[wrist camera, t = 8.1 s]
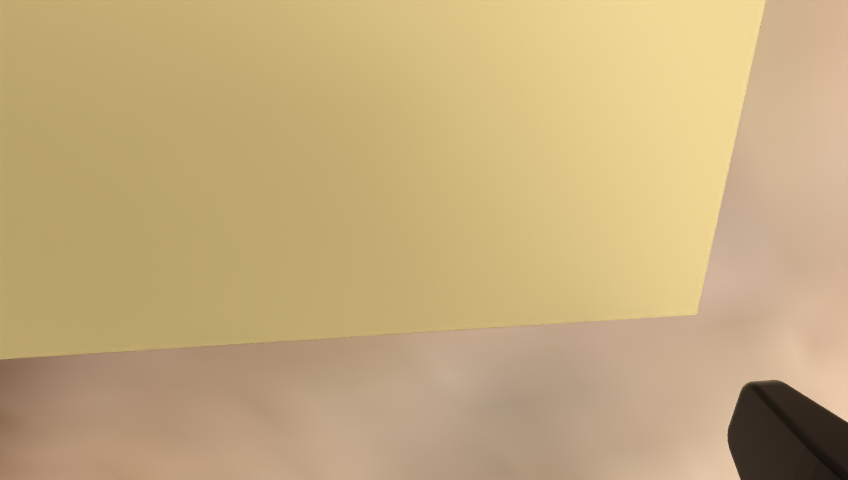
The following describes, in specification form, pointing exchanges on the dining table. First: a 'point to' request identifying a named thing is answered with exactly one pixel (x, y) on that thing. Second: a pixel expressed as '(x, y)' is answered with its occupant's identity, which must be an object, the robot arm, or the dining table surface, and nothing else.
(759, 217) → the dining table surface
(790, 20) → the dining table surface
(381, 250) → the lid
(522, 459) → the dining table surface
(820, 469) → the robot arm
